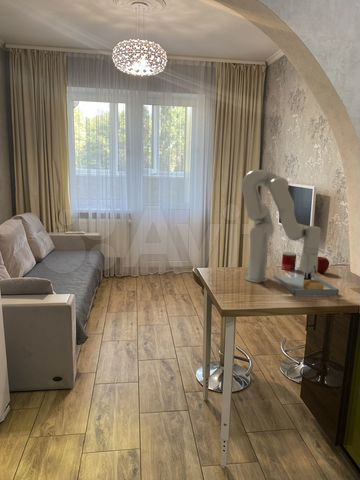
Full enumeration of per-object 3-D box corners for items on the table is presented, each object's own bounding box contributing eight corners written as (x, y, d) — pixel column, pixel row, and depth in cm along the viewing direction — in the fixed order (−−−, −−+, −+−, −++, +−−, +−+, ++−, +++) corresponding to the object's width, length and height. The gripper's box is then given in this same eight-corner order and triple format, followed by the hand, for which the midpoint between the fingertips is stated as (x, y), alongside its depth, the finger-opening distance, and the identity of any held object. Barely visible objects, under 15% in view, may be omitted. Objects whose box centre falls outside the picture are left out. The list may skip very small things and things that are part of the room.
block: (302, 288, 187) (303, 279, 186) (315, 287, 188) (316, 279, 187) (309, 292, 180) (310, 284, 179) (322, 292, 181) (323, 283, 180)
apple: (328, 272, 223) (330, 256, 221) (327, 276, 214) (329, 259, 212) (312, 269, 226) (313, 254, 224) (310, 273, 218) (312, 257, 216)
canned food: (293, 273, 217) (294, 255, 215) (279, 271, 221) (281, 253, 219) (296, 270, 224) (297, 253, 221) (282, 268, 227) (284, 251, 225)
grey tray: (273, 279, 203) (273, 274, 203) (312, 279, 207) (312, 274, 206) (294, 296, 178) (295, 290, 177) (338, 295, 182) (338, 289, 181)
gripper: (296, 247, 192) (293, 280, 196) (311, 254, 178) (307, 289, 182) (310, 247, 194) (306, 280, 197) (325, 254, 179) (321, 289, 183)
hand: (306, 284), depth 189 cm, fingers closed
